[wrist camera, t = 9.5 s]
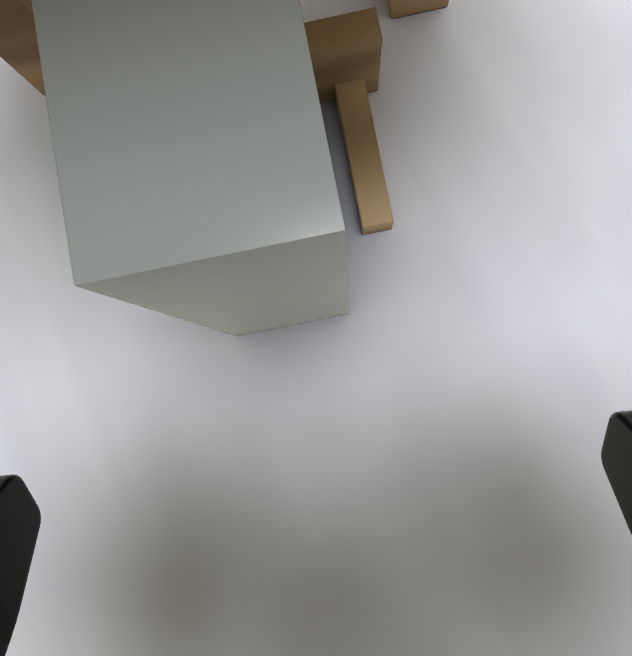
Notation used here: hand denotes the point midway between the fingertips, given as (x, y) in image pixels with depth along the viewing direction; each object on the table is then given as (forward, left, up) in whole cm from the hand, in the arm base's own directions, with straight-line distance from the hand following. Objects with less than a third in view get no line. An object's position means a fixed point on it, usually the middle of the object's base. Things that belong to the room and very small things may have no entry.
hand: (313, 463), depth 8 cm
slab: (+6, +4, -10) cm, 12 cm away
